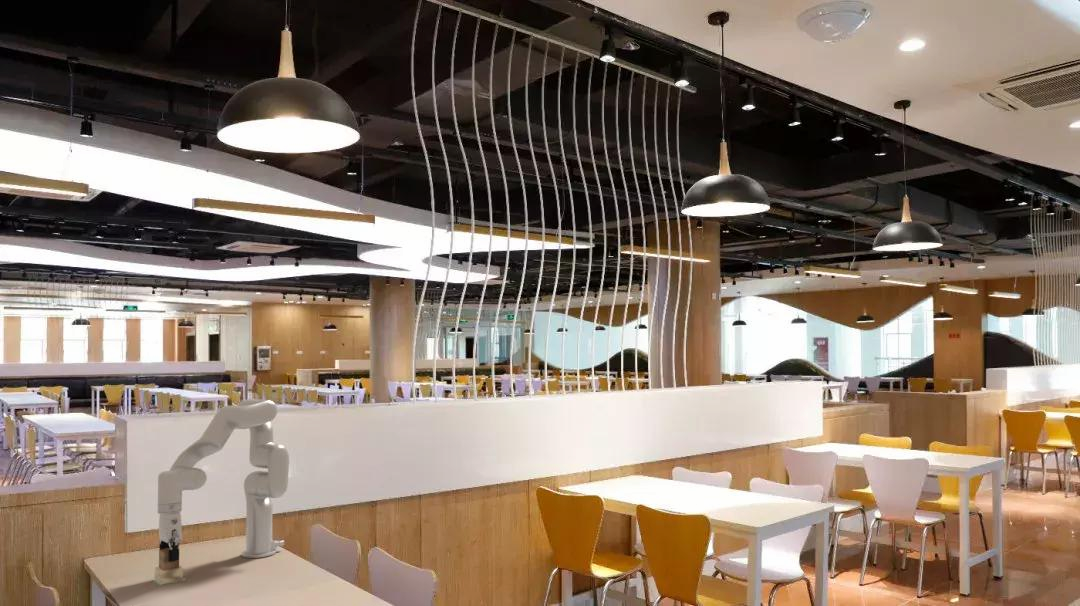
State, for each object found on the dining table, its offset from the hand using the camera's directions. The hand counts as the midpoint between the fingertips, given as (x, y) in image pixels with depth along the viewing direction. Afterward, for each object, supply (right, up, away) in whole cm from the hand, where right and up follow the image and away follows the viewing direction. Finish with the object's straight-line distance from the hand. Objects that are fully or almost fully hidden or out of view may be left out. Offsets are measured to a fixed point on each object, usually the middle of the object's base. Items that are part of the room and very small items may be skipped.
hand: (168, 558), depth 266 cm
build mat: (0, -8, 0) cm, 8 cm away
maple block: (0, -7, 0) cm, 7 cm away
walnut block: (0, -3, 0) cm, 3 cm away
